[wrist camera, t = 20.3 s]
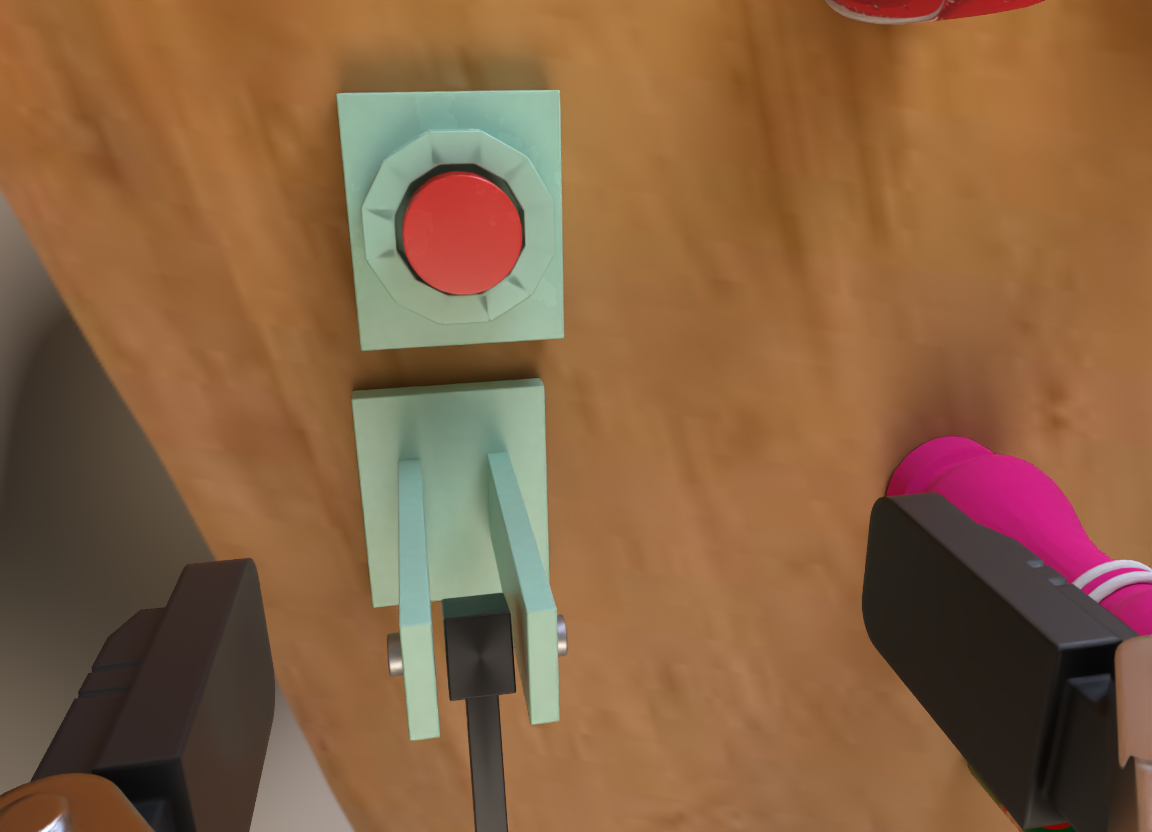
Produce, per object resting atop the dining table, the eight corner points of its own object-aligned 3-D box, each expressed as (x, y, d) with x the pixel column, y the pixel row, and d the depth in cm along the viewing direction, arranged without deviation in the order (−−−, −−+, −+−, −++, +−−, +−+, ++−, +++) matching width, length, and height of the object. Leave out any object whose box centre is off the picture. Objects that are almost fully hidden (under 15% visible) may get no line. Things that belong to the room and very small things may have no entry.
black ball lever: (545, 952, 35) (560, 1021, 31) (450, 968, 34) (454, 1041, 30) (521, 585, 33) (534, 614, 30) (421, 595, 33) (422, 627, 29)
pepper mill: (954, 567, 50) (1279, 848, 32) (850, 525, 48) (1135, 801, 30) (1026, 454, 49) (1413, 682, 30) (922, 405, 46) (1270, 618, 28)
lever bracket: (546, 576, 46) (610, 786, 32) (373, 595, 44) (363, 823, 31) (540, 377, 42) (610, 518, 29) (352, 390, 41) (330, 544, 27)
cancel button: (518, 283, 36) (524, 292, 35) (406, 289, 36) (406, 298, 34) (514, 168, 35) (520, 173, 33) (397, 172, 34) (397, 176, 32)
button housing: (554, 323, 41) (572, 350, 37) (363, 334, 40) (359, 363, 36) (549, 89, 38) (568, 90, 34) (339, 92, 37) (332, 93, 32)
